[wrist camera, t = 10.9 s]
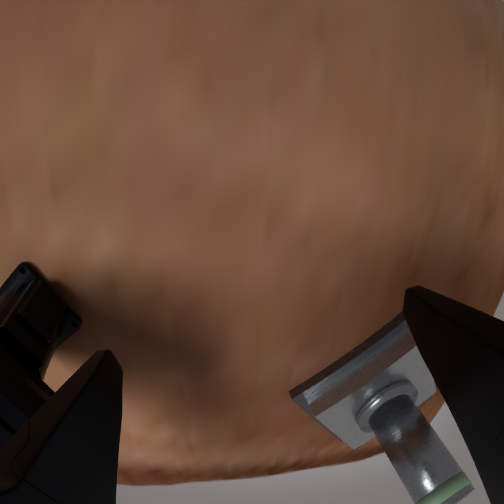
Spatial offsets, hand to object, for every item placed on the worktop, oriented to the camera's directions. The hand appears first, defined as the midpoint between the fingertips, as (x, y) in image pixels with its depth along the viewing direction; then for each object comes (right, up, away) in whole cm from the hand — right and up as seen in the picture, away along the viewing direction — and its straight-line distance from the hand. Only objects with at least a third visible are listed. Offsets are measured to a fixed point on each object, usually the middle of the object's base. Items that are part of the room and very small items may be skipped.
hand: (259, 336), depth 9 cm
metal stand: (+13, -12, +22) cm, 28 cm away
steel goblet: (+13, -13, +19) cm, 27 cm away
